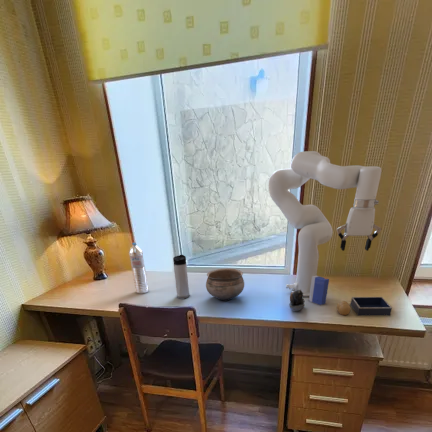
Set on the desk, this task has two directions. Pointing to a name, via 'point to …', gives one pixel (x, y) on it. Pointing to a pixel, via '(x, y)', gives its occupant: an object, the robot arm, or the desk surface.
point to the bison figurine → (296, 300)
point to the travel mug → (181, 276)
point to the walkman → (318, 290)
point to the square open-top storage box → (370, 306)
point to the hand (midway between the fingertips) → (354, 249)
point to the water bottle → (138, 269)
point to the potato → (343, 308)
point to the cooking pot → (225, 283)
